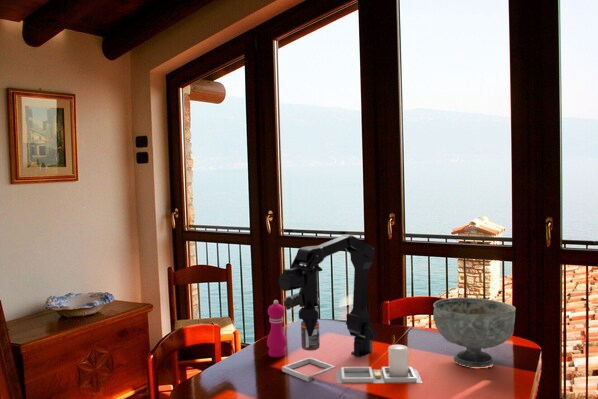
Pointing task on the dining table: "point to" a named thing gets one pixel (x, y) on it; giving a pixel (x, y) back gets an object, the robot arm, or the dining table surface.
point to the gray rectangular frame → (374, 375)
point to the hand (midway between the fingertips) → (310, 333)
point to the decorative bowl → (474, 326)
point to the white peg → (398, 361)
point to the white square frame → (289, 367)
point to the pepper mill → (276, 331)
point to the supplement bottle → (310, 338)
